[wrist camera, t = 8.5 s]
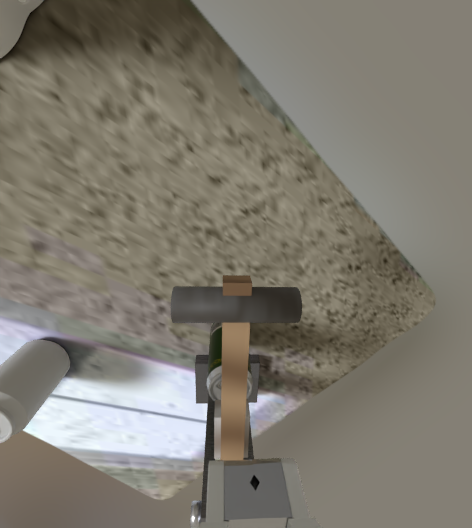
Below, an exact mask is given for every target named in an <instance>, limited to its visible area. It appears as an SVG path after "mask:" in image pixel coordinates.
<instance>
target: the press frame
mask: <svg viewBox="0 0 472 528" xmlns="http://www.w3.org/2000/svg"><path fill="white" fill-rule="evenodd" d="M208 358H209V355H196V362H195V375H196V403H208V410H207V425H206V441H205V457H204V472H203V489H202V501H192V506H191V520H190V528H198V527H199V525H200V523H201V522H206V504H207V484H208V466H209V461H215V459H214V412H215V401H213V400H212V398H211V397H210V396H209V392H208V387H207V372H208ZM249 358H250V365H251V372H252V379H253V384H252V390H251V394H250V396H249V397H248V403H249V402H257V393H258V380H259V366H260V362H259V357H258V355H249ZM253 459H254V456H253V446H252V437H251V428H250V426H249V444H248V458H243V460H253Z"/></svg>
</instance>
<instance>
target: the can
mask: <svg viewBox="0 0 472 528" xmlns="http://www.w3.org/2000/svg"><path fill="white" fill-rule="evenodd" d="M69 368H70V359H69V356H68V354H67V353H66V351H65V350H64V348H62V347H61V346H60V345H59V344H57V343H54V342H51V341H46V340H33V341H30V342H27V343H26V344H24V345H23V346H22V347H21V348H20V349H19V350H17V351H16V352H15V353H14V354H13V355H12V356H11V357H9V358H8V359H7V360H6V361H5V362H4V363H3V364H1V365H0V443H2V442H5V441H6V440H7V439H9V438H10V437H11V436H12V435H14V434H17V433H19V432H20V431H22V430H23V429H24V428H25V427H26V425H27V424H28V423H29V422H30V420H31V419H32V418H33V416H34V415H35V414H36V412H37V411H38V410H39V408H40V407H41V406H42V405H43V403H44V402H45V401H46V399H47V398H48V397H49V395H50V394H51V393H52V392H53V390H54V389H55V388H56V386H57V385H58V384H59V382H60V381H61V380H62V378H63V377H64V376H65V375H66V373H67V372H68V370H69Z"/></svg>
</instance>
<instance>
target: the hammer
mask: <svg viewBox="0 0 472 528" xmlns="http://www.w3.org/2000/svg"><path fill="white" fill-rule="evenodd" d="M301 313H302V301H301V295H300V291H299V289H298V288H297V287H252V281H251V278H250V276H228V275H223V287H179V286H175V287H174V288H173V291H172V298H171V318H172V322H173V323H222V383H221V400H215V412H214V459H216V458H220V460H224V461H225V460H243V458H248V444H249V426H250V412H249V404H248V399H246V396H247V376H248V356H249V335H250V323H298V322H299V321H300V318H301Z"/></svg>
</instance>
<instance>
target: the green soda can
mask: <svg viewBox="0 0 472 528" xmlns="http://www.w3.org/2000/svg"><path fill="white" fill-rule="evenodd" d="M221 383H222V323H213V325H212V327H211V332H210V345H209V358H208V372H207V387H208V392H209V396H210V397H211V398H212V400H213V401H215V400H221ZM252 384H253V379H252V372H251V365H250V358H249V356H248V376H247V396H246V399H248V397H249V396H250V394H251V390H252Z"/></svg>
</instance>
